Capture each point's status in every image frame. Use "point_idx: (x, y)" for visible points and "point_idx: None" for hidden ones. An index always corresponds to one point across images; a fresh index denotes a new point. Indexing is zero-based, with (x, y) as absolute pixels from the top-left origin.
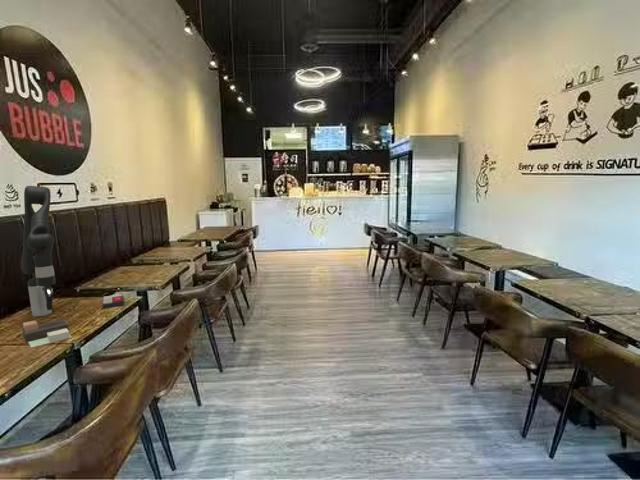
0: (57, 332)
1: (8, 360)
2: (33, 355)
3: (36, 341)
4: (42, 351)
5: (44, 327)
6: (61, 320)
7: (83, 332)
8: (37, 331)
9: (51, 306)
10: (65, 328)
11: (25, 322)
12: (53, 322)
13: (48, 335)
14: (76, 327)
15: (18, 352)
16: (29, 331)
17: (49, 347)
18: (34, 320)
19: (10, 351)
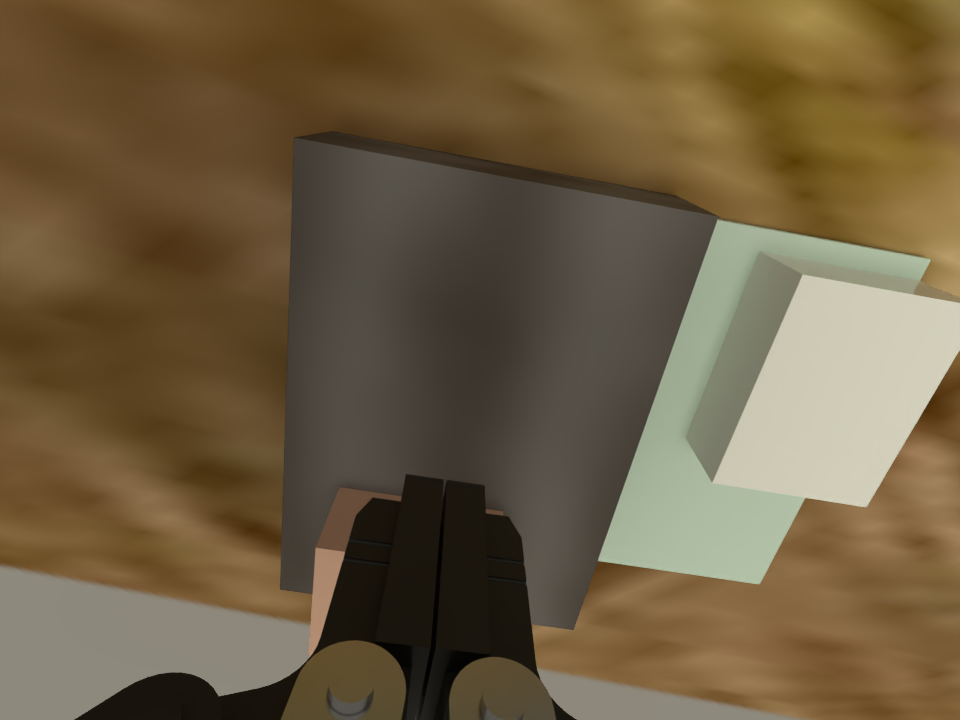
0: (844, 411)
1: (833, 712)
2: (946, 612)
3: (642, 516)
4: (945, 553)
5: (506, 453)
6: (375, 190)
7: (900, 65)
8: (592, 542)
9: (521, 565)
10: (801, 289)
11: (315, 637)
12: (373, 307)
13: (820, 498)
14: (563, 27)
15: (741, 646)
16: None
17: (920, 493)
18: (320, 559)
19: (649, 666)
